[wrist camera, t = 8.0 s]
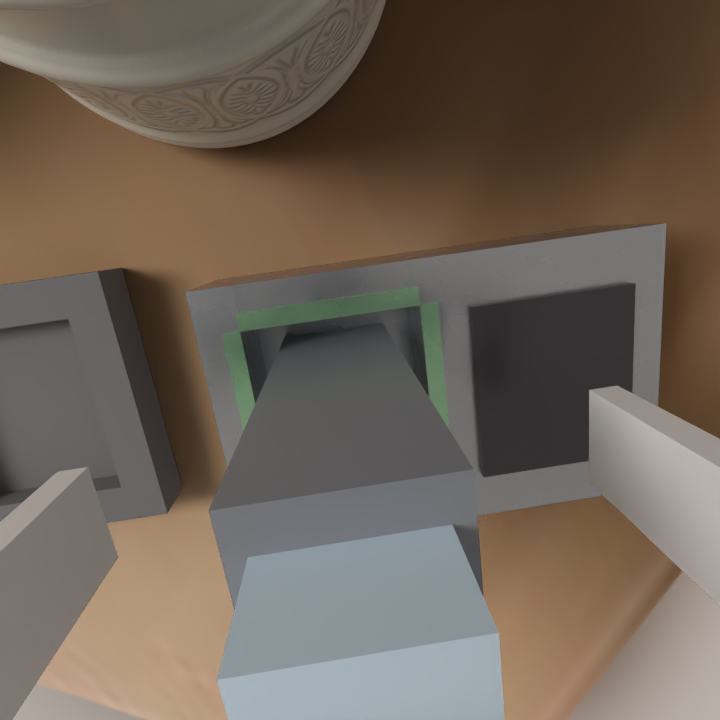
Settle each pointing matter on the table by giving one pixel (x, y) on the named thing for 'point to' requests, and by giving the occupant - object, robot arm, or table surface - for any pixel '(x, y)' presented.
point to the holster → (80, 396)
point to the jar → (192, 60)
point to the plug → (352, 546)
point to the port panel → (468, 342)
